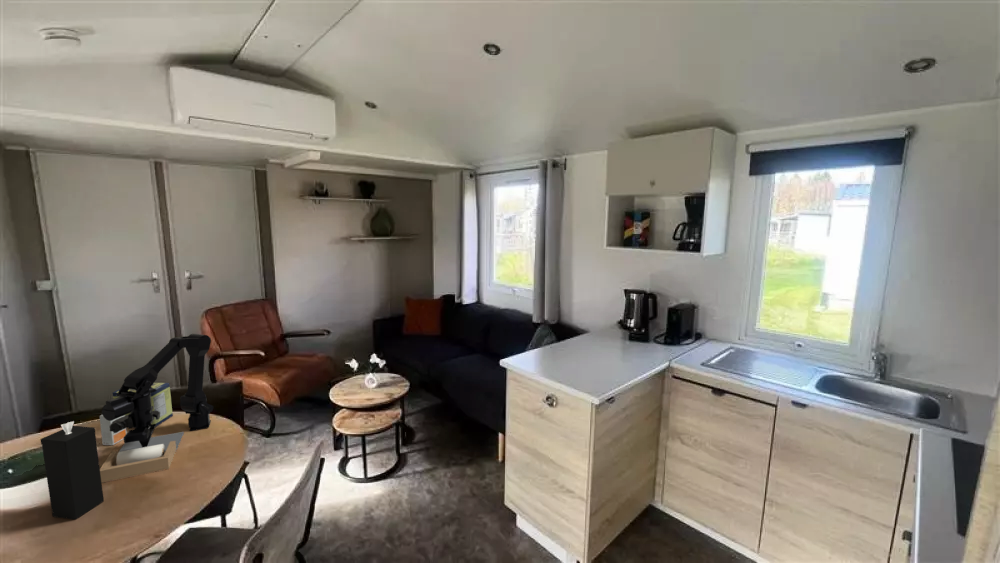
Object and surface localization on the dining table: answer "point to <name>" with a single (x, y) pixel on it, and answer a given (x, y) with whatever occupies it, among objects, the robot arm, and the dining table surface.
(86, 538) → the dining table surface
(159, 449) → the paper roll
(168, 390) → the protein box
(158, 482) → the dining table surface
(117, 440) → the skincare box
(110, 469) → the holder
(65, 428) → the tissue box
